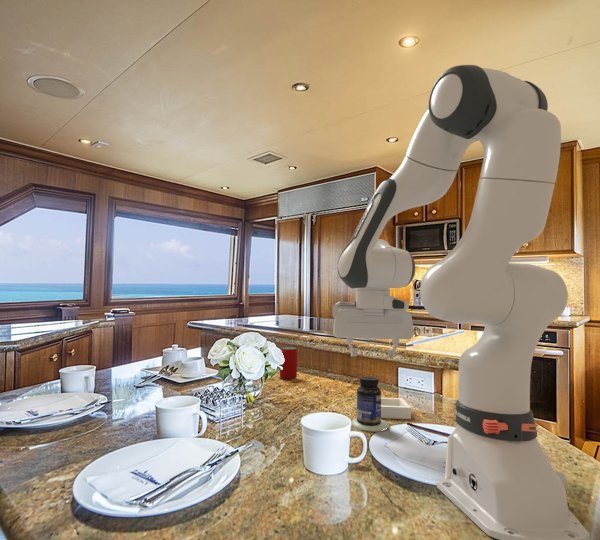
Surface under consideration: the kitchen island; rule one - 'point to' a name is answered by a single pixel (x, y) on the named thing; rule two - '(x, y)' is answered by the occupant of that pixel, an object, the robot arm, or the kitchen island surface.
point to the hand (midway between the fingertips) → (372, 356)
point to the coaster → (370, 428)
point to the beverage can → (289, 363)
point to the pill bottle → (369, 402)
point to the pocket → (395, 408)
